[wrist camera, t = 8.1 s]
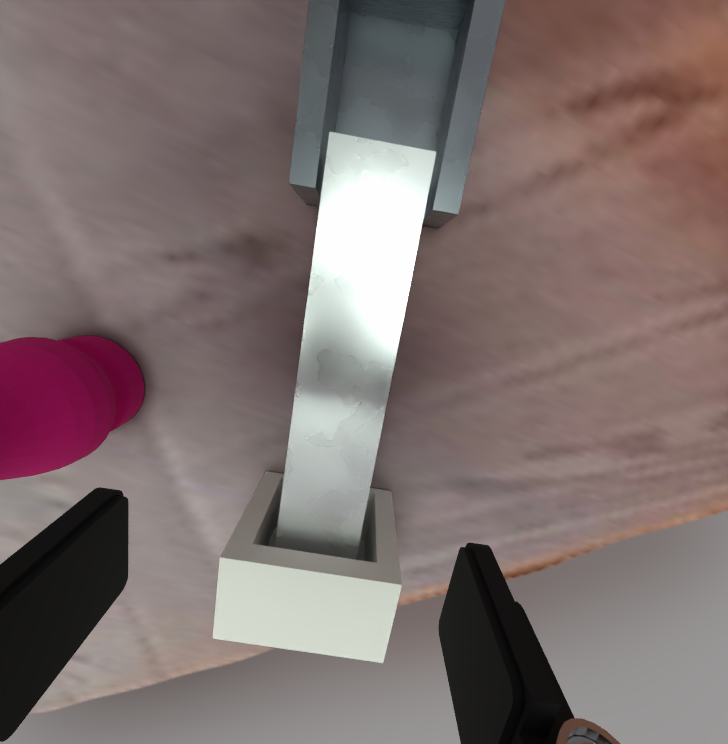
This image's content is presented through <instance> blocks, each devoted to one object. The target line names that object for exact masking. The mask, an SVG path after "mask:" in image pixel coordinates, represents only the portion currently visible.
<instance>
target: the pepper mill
mask: <svg viewBox="0 0 728 744" xmlns="http://www.w3.org/2000/svg"><path fill="white" fill-rule="evenodd" d="M143 398H144V381H143V377H142V373H141V371H140V369H139V367H138V365H137V363H136V362H135V360H134V359H133V358H132V357H131V355H130V354H129V353H128V352H127V351H125V350H124V349H123V348H122V347H120V346H119V345H118V344H116V343H114V342H112V341H110V340H108V339H105V338H102V337H98V336H92V335H84V336H77V337H72V338H67V339H63V340H58V341H56V340H53V339H48V338H37V337H25V338H18V339H13V340H10V341H6V342H2V343H0V480H5V479H12V478H19V477H27V476H33V475H37V474H42V473H45V472H49V471H53V470H56V469H60V468H62V467H65V466H67V465H69V464H71V463H73V462H75V461H77V460H79V459H81V458H83V457H85V456H87V455H89V454H90V453H92V452H93V451H94V450H96V449H97V448H98V447H99V446H100V445H101V444H102V442H103V441H104V440H105V439H106V437H107V436H108V434H109V432H110V431H112V430H114V429H116V428H117V427H119V426H121V425H122V424H124V423H126V422H127V421H129V420H130V419H131V418H132V417H133V416H134V415H135V414H136V413H137V412H138V410H139V408H140V407H141V405H142V401H143Z"/></svg>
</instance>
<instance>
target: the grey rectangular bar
mask: <svg viewBox="0 0 728 744" xmlns="http://www.w3.org/2000/svg"><path fill="white" fill-rule="evenodd" d="M435 157H436V152H435V151H430V150H424V149H419V148H414V147H409V146H403V145H398V144H393V143H387V142H382V141H377V140H372V139H366V138H361V137H356V136H350V135H345V134H340V133H335V132H329V139H328V146H327V154H326V161H325V169H324V177H323V184H322V192H321V199H320V207H319V214H318V222H317V230H316V237H315V245H314V252H313V260H312V268H311V275H310V283H309V290H308V298H307V306H306V313H305V321H304V328H303V336H302V344H301V351H300V359H299V366H298V374H297V382H296V389H295V397H294V404H293V412H292V420H291V427H290V435H289V442H288V450H287V458H286V465H285V473H284V480H283V488H282V495H281V503H280V511H279V518H278V526H277V533H276V541H275V547H277V548H283V549H290V550H296V551H303V552H309V553H316V554H322V555H329V556H335V557H342V558H348V559H355V560H356V557H357V552H358V547H359V542H360V537H361V532H362V526H363V521H364V516H365V511H366V506H367V501H368V496H369V491H370V486H371V481H372V476H373V471H374V466H375V461H376V456H377V451H378V446H379V440H380V435H381V430H382V425H383V420H384V415H385V410H386V405H387V400H388V395H389V390H390V385H391V380H392V375H393V370H394V365H395V360H396V354H397V349H398V344H399V339H400V334H401V329H402V324H403V319H404V314H405V309H406V304H407V299H408V294H409V289H410V284H411V279H412V274H413V268H414V263H415V258H416V253H417V248H418V243H419V238H420V233H421V228H422V223H423V218H424V213H425V208H426V203H427V198H428V193H429V188H430V183H431V177H432V172H433V167H434V162H435Z"/></svg>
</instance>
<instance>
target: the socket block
mask: <svg viewBox="0 0 728 744" xmlns="http://www.w3.org/2000/svg"><path fill="white" fill-rule="evenodd" d="M283 480H284V474H281V473H275V472H269V471H266V472H265V474H264V475H263V477H262V479H261V481H260V483H259V485H258V487H257V489H256V491H255V492H254V494H253V496H252V498H251V500H250V502H249V504H248V506H247V508H246V509H245V511H244V513H243V515H242V517H241V519H240V521H239V523H238V524H237V526H236V528H235V530H234V532H233V534H232V536H231V538H230V540H229V541H228V543H227V545H226V547H225V549H224V551H223V553H222V555H221V556H220V563H219V574H218V585H217V597H216V608H215V619H214V630H213V638H214V639H221V640H227V641H234V642H241V643H248V644H255V645H262V646H269V647H276V648H283V649H290V650H297V651H304V652H311V653H318V654H324V655H331V656H338V657H345V658H352V659H359V660H366V661H373V662H380V663H383V662H384V657H385V653H386V649H387V645H388V641H389V637H390V632H391V628H392V624H393V620H394V616H395V612H396V607H397V603H398V599H399V595H400V591H401V586H402V582H401V573H400V564H399V555H398V545H397V536H396V527H395V518H394V509H393V500H392V491H388V490H381V489H375V488H370V491H369V496H368V501H367V506H366V511H365V516H364V521H363V526H362V532H361V537H360V542H359V547H358V552H357V557H356V560H355V559H348V558H342V557H335V556H329V555H322V554H316V553H309V552H303V551H296V550H290V549H283V548H277V547H275V541H276V533H277V526H278V518H279V511H280V503H281V495H282V488H283Z"/></svg>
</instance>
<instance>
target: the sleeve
mask: <svg viewBox="0 0 728 744" xmlns="http://www.w3.org/2000/svg"><path fill="white" fill-rule="evenodd" d="M504 4H505V0H309V6H308V15H307V24H306V33H305V42H304V51H303V60H302V69H301V78H300V87H299V96H298V105H297V114H296V123H295V132H294V141H293V150H292V159H291V168H290V177H289V184H290V185H291V186H292V187H293V189H294V190H295V191H296V192H297V194H298V195H299V196H300V197H301V198H302V200H303V201H304V202H305V203H306V204H307V205H311V206H317V207H320V199H321V192H322V184H323V177H324V169H325V161H326V154H327V146H328V139H329V132H335V133H340V134H345V135H350V136H356V137H361V138H366V139H372V140H377V141H382V142H387V143H393V144H398V145H403V146H409V147H414V148H419V149H424V150H430V151H435V152H436V157H435V162H434V167H433V172H432V177H431V183H430V188H429V193H428V198H427V203H426V208H425V213H424V218H423V223H422V226H426V227H432V228H437V229H439V228H440V227H441V226H443V225H444V224H446V223H447V222H448V221H450V220H451V219H453V218H454V217H455V216H457V215H458V214H459V210H460V205H461V200H462V196H463V191H464V187H465V182H466V178H467V173H468V169H469V164H470V159H471V155H472V150H473V146H474V141H475V137H476V132H477V127H478V123H479V118H480V114H481V109H482V105H483V100H484V95H485V91H486V86H487V82H488V77H489V73H490V68H491V64H492V59H493V54H494V50H495V45H496V41H497V36H498V32H499V27H500V22H501V18H502V13H503V9H504Z"/></svg>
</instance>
